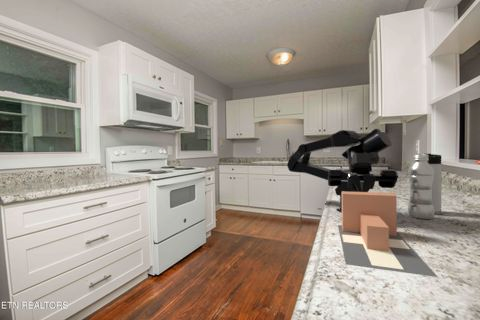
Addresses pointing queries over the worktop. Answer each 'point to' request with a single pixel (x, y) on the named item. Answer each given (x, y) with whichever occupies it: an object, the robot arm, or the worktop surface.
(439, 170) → the travel mug
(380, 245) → the t block
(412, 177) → the plastic bottle
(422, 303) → the worktop surface
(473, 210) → the worktop surface
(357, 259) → the mat
